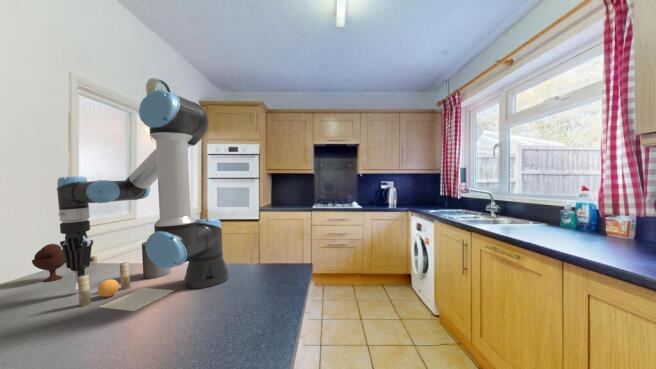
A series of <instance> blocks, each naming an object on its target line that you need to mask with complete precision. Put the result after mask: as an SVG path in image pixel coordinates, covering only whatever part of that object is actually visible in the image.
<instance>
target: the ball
mask: <svg viewBox="0 0 656 369" xmlns="http://www.w3.org/2000/svg"><path fill="white" fill-rule="evenodd" d="M119 288H120V284H119V281H117V280H116V279H112V278H110V279H109V278H108V279H106V280H103V281H102V282H101V283H100V284H99V285H98V287H97V293H98V295H99V296H100V297H102V298H107V297H109V298H110V297H112V296H114V295H115V294H116V293H117V292H118V291H119Z"/></svg>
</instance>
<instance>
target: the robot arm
mask: <svg viewBox="0 0 656 369" xmlns="http://www.w3.org/2000/svg"><path fill="white" fill-rule="evenodd" d="M138 115H139V119H140V122H141V121H142V123H143V124H144V125H145V126H147V127H148V128H149V136H150V137H151V138H152V139H153V140H154V141H155V143H156V144H155V147H156V148H155V149H154V150H153V151H152V152H151V153H150V154H149V155H148V156H147V157H146V158H145V159H144V161H143V162H141V164H139V165H138V167H136V168H135V170H134V171H133V172H132V173H131V174H130V175H129V176H128V177H127V178H126V179H125V180H107V179H105V180H103V179H99V180H91V181H88V178H87V177H86V176H61V177H59V178H58V179H57V187H56V191H57V202H58V212H59V213H58V216H59V222H61V223H59V232H60V234H62V235H64V240H61V241H59V246H61V250H63V254H64V258H65V262H66V263H65V265H66V266H65V267H66V269H69V270H70V271H72V272H71V274H72V288H73V290H76V291H77V290H78V277H79V276H82V275H86V274H85V272H86V271H85V270H86V269H87V268H90V264H91V256H92V246H93V244H94V240H93V239H91V240H90V239H88V234H87V232H89V231H90V230H91V223H90V222H91V221H90V220H89V219H90V217H91V216H90V206H89V204H97V203H98V204H106V203H111V202H123V201H124V202H126V201H138V200H142V199H145V198H146V199H147V197H148V196H149V194H150V191H151V186H152V185H153V184H154V183H155V182H156V181H157V189H158V207H159V208H158V209H159V218H158V220H157V221H156V222H155V223H154V224H153V228H154V232H153V233H152V234H150V235H149V236H148V238H147V239H146V241H145V242H146V253H147V255H148V257H149V259H150V260H151V261H152V262H154V264H155V265H157V266H159V267H161V268H171V269H172V268H175V267H178V266H181V265H183V264H185V263H186V262H187V263H188V264H187V268H186V273H185V276H184V278H183V284H184V287H185V288H188V289H202V288H203V289H204V288H208V287H209V288H210V287H213V286H217V285H219V284H221V283H224V282H225V281H227V280H228V279H229V278H230V270H229V268H228V267H227V265H226V264H227V263H226V261H225V259H224V253H223V252H224V251H223V236H222V235H223V234H222V232H223V231H222V230H223V228H222V222H221V220H220V219H218V218H202V219H198V218H197V219H195V218H194V217H193V216H192V215H191V214H192V213H191V195H190V194H191V193H190V191H191V190H190V172H189V148H190V147H192V146H193V147H194V146H196V145H197V144H198V143H199V142H200V141H201V139H203V137H204V136H205V135H206V133H207V131H208V128H209V125H210V124H209V123H210V122H209V117H208V116H209V115H208V114H207V111H206V110H205V109H204V108H203V107H202V105H200V104H198V103H197V102H194V101H192V100H189V99H186V98H184V97H182V96H180V95H177V94H176V93H174V92H169V91H166V90H161V89H156V90H153V91H151V92H149V93H147V94H146V96H145V97H143V99H142V100H141V102H140V104H139V109H138Z"/></svg>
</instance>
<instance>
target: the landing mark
mask: <svg viewBox="0 0 656 369" xmlns="http://www.w3.org/2000/svg"><path fill="white" fill-rule="evenodd" d="M173 292H175V289H174V290H173V289H161V288H160V289H159V288H149V287H148V288H147V287H141V288H139V289H137V290H135V291H133V292H130V293H127V294H126V295H124V296H120V297H118V298H116V299H114V300H111V301H109V302H107V303H104V304H102V305H99V306H98V308H101V309H110V310H120V311H129V312H135V311H137V310H139V309H141V308H143V307H144V306H147V305H149V304H151V303H153V302H155V301H156V300H159V299H161V298H164V297H165V296H167V295H169V294H171V293H173Z"/></svg>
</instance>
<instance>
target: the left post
mask: <svg viewBox="0 0 656 369" xmlns="http://www.w3.org/2000/svg"><path fill="white" fill-rule="evenodd" d="M90 284H91V283H90V275H89V274H85V275H82V276H79V277H78V289H77V290H78V291H77V292H78V301H79V302H78V303H79V308H80V307H82V308H83V307H86V306H90V304H92V302H91V301H92V300H91V299H92V298H91V287H90Z"/></svg>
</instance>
